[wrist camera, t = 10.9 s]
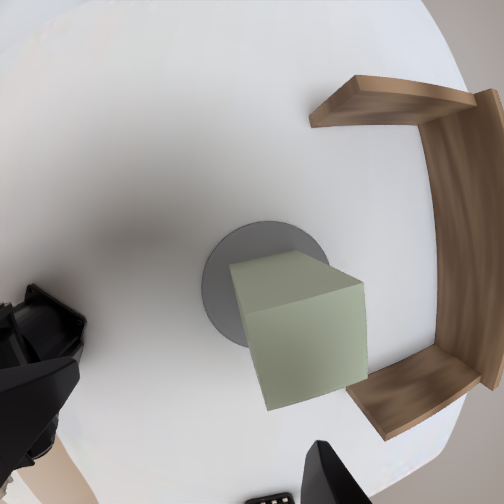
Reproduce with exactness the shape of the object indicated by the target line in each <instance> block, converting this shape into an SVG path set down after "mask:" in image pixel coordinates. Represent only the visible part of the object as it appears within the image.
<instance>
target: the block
mask: <svg viewBox="0 0 504 504" xmlns="http://www.w3.org/2000/svg"><path fill="white" fill-rule="evenodd" d="M229 268H230V272H231V276H232V281H233V285H234V290H235V294H236V298H237V303H238V307H239V311H240V315H241V320H242V324H243V328H244V332H245V335H246V339H247V342H248V346H249V349H250V353H251V356H252V360H253V363H254V367H255V370H256V374H257V377H258V381H259V384H260V387H261V391H262V394H263V398H264V401H265V404H266V407H267V411H270V410H274V409H278V408H281V407H285V406H289V405H292V404H296V403H299V402H302V401H306V400H309V399H312V398H315V397H318V396H321V395H324V394H327V393H330V392H333V391H336V390H339V389H341V388H344V387H347V386H349V385H352V384H355V383H357V382H360V381H362V380H365V379H367V378H368V356H367V325H366V307H365V294H364V282H362V281H360V280H358V279H356V278H354V277H352V276H350V275H348V274H346V273H343V272H341V271H339V270H337V269H335V268H333V267H331V266H329V265H327V264H325V263H323V262H321V261H319V260H316V259H314V258H312V257H310V256H308V255H306V254H304V253H302V252H300V251H298V250H292V251H287V252H283V253H279V254H274V255H270V256H266V257H261V258H257V259H252V260H248V261H243V262H239V263H235V264H230V265H229Z"/></svg>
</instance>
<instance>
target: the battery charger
mask: <svg viewBox="0 0 504 504" xmlns="http://www.w3.org/2000/svg"><path fill="white" fill-rule="evenodd" d="M245 504H295V500H294V498H293V496H292V495H291V494H287V493H286V494H279V495H274V496H269V497H264V498H259V499H254V500H250V501H247V502H246V503H245Z"/></svg>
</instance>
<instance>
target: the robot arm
mask: <svg viewBox="0 0 504 504" xmlns="http://www.w3.org/2000/svg"><path fill="white" fill-rule="evenodd" d="M31 288H32V290H33V292H32V291H31ZM79 320H80V321H81V322H82V324H80V323H79ZM85 326H86V319H85V318H84V317H83V316H81V315H80V314H78V313H76V312H75V311H73V310H72V309H70V308H68V307H67V306H65V305H64V304H62V303H61V302H59V301H58V300H56V299H54V298H53V297H51V296H50V295H48V294H47V293H46V292H44V291H43V290H41V289H40V288H38V287H37V286H35V285H34V284H30V285H28V286H27V289H26V294H25V300H24V302H22V303H20V304H18V305H16V306H15V307H12V304H11V302H10V303H6V304H4V303H0V489H1V487H2V486H3V484H4V483H5V481H6V480H7V479H8V477H9V476H10V475H11V473H12V472H13V470H16V469H19V468H22V467H28V466H33V465H34V464H35V462H34V461H33V460H35V459H38V458H40V457H42V456H44V455H45V454H46V453H47V452H48V451H49V450H50V449H51V448H52V446H53V444H54V440H55V434H56V429H57V426H58V420H59V419H58V415H59V411H60V409H61V408H62V406H63V405H64V403H65V402H66V400H67V399H68V397H69V395H70V394H71V392H72V391H73V389H74V388H75V386H76V385H77V383H78V381H79V379H80V373H79V361H80V357H81V353H82V349H83V346H84V344H83V341H82V336H83V333H84V329H85ZM301 504H372V502H371V501H370V500H369V498H368V497H367V496H366V494H365V493H364V492H363V490H362V489H361V488H360V486H359V485H358V483H357V482H356V481H355V479H354V478H353V477H352V475H351V474H350V472H349V471H348V470H347V468H346V467H345V465H344V464H343V463H342V461H341V460H340V458H339V457H338V456H337V454H336V453H335V451H334V450H333V448H332V447H331V446H330V444H329V443H328V442H327V441H322V440H316V441H315V442H314V443H313V445H312V446H311V448H310V449H309V451H308V452H307V455H306V459H305V466H304V473H303V480H302V487H301Z"/></svg>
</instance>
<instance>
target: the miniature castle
mask: <svg viewBox="0 0 504 504" xmlns="http://www.w3.org/2000/svg"><path fill="white" fill-rule="evenodd" d="M12 481H13V478H12V477H11V476H9V477H8V479H7V480H6V481H5V483H4V484H3V486H2V487H1V489H0V499H1V498H2V497H4V496H5V495H6V492H5V490H6V487H7V484H8V483H11V482H12Z"/></svg>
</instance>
